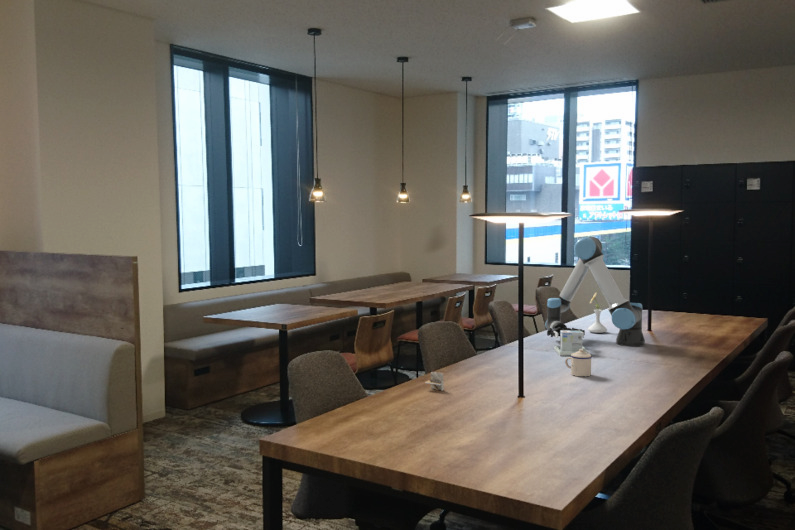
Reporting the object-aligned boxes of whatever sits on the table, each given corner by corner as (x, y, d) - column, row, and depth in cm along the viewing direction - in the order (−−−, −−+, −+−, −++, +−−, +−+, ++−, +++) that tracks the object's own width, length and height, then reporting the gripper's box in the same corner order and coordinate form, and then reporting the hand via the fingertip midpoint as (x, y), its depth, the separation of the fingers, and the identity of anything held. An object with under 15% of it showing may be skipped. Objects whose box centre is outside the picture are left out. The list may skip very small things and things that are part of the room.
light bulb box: (580, 350, 358) (580, 330, 357) (582, 353, 351) (583, 332, 350) (559, 350, 359) (559, 329, 358) (561, 352, 352) (561, 332, 351)
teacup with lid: (594, 374, 306) (595, 348, 306) (587, 378, 299) (587, 352, 298) (569, 370, 314) (569, 345, 313) (561, 374, 306) (561, 349, 305)
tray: (582, 349, 363) (582, 345, 362) (588, 356, 346) (589, 352, 346) (554, 349, 363) (554, 345, 363) (559, 355, 347) (559, 351, 347)
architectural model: (440, 393, 278) (440, 375, 277) (424, 391, 281) (424, 373, 280) (443, 391, 281) (443, 373, 280) (428, 389, 284) (428, 371, 283)
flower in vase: (591, 330, 424) (592, 290, 422) (609, 332, 417) (610, 291, 415) (584, 333, 413) (584, 292, 411) (602, 335, 406) (603, 293, 404)
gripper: (580, 335, 378) (593, 342, 357) (536, 335, 377) (546, 342, 356) (581, 321, 378) (594, 328, 356) (536, 322, 376) (546, 328, 355)
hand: (570, 335), depth 356 cm, fingers open, 13 cm apart
